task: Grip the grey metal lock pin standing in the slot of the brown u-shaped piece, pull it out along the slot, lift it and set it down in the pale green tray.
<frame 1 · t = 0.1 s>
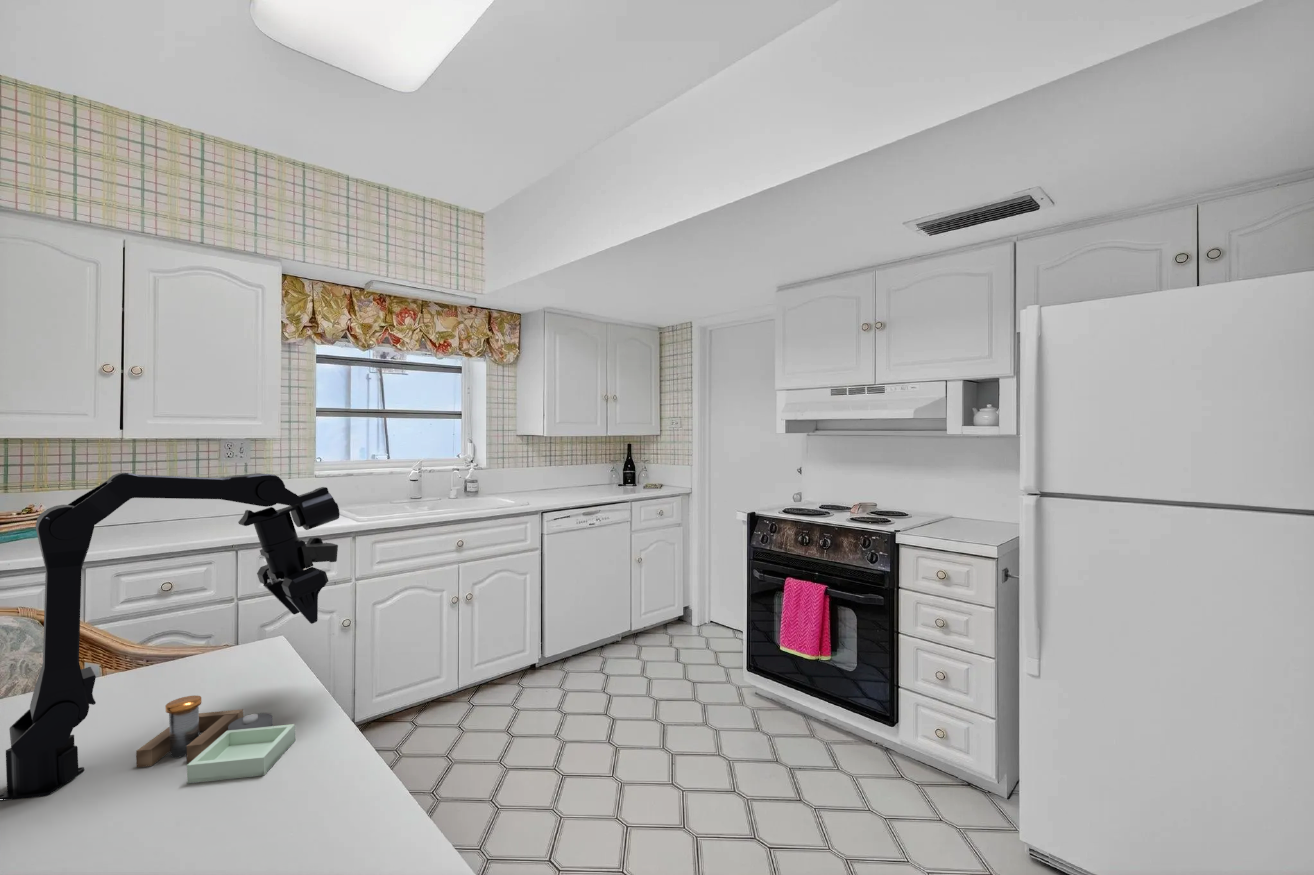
hand: (305, 617, 110), 15 cm above the table, tool pointing down, fingers open, 9 cm apart
brown u-shaped piece: (185, 751, 93), on the table
lock pin: (184, 726, 93), in the brown u-shaped piece
pulley: (251, 736, 97), on the table
tray: (244, 760, 89), on the table
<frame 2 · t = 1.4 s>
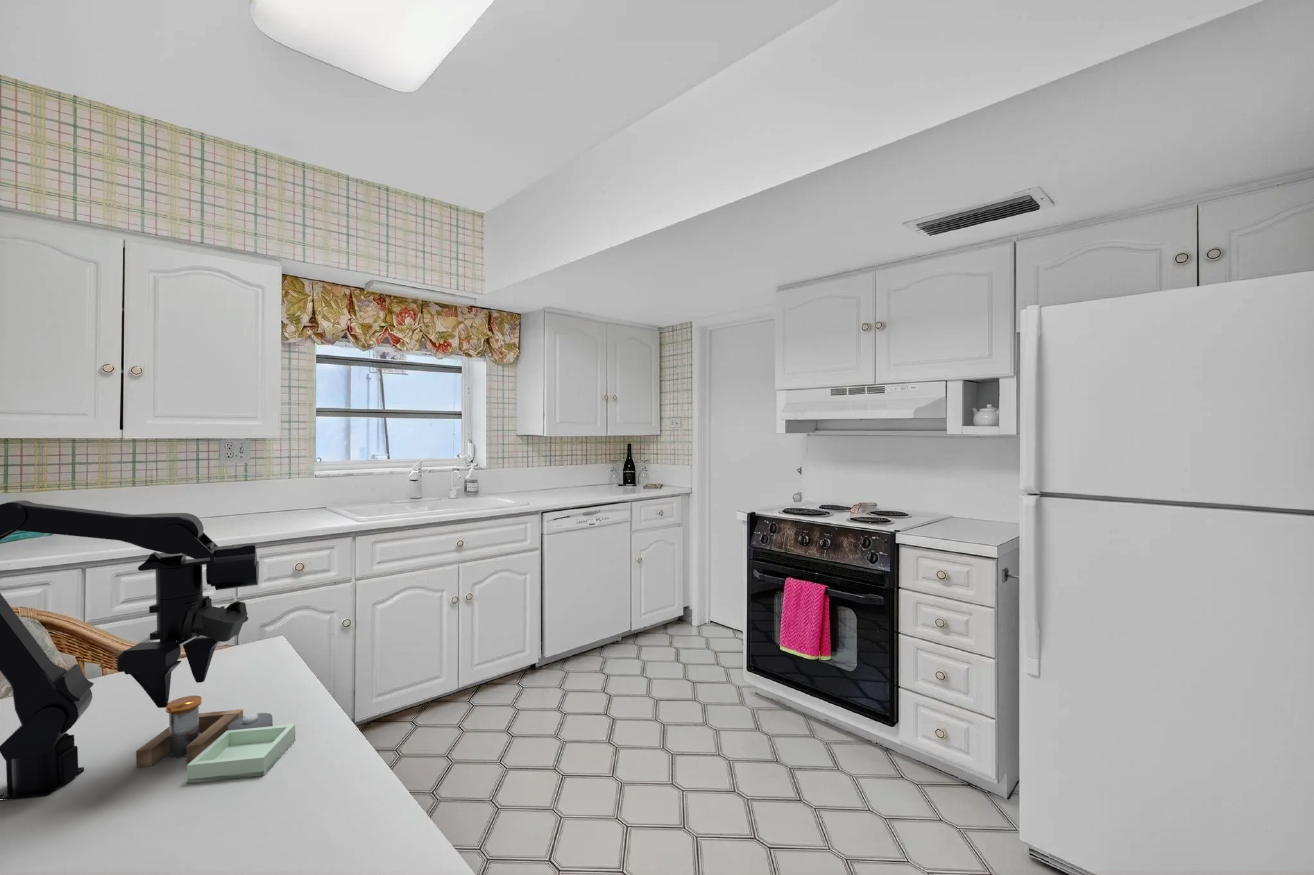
hand: (182, 694, 93), 9 cm above the table, tool pointing down, fingers open, 9 cm apart
nothing on the table moved.
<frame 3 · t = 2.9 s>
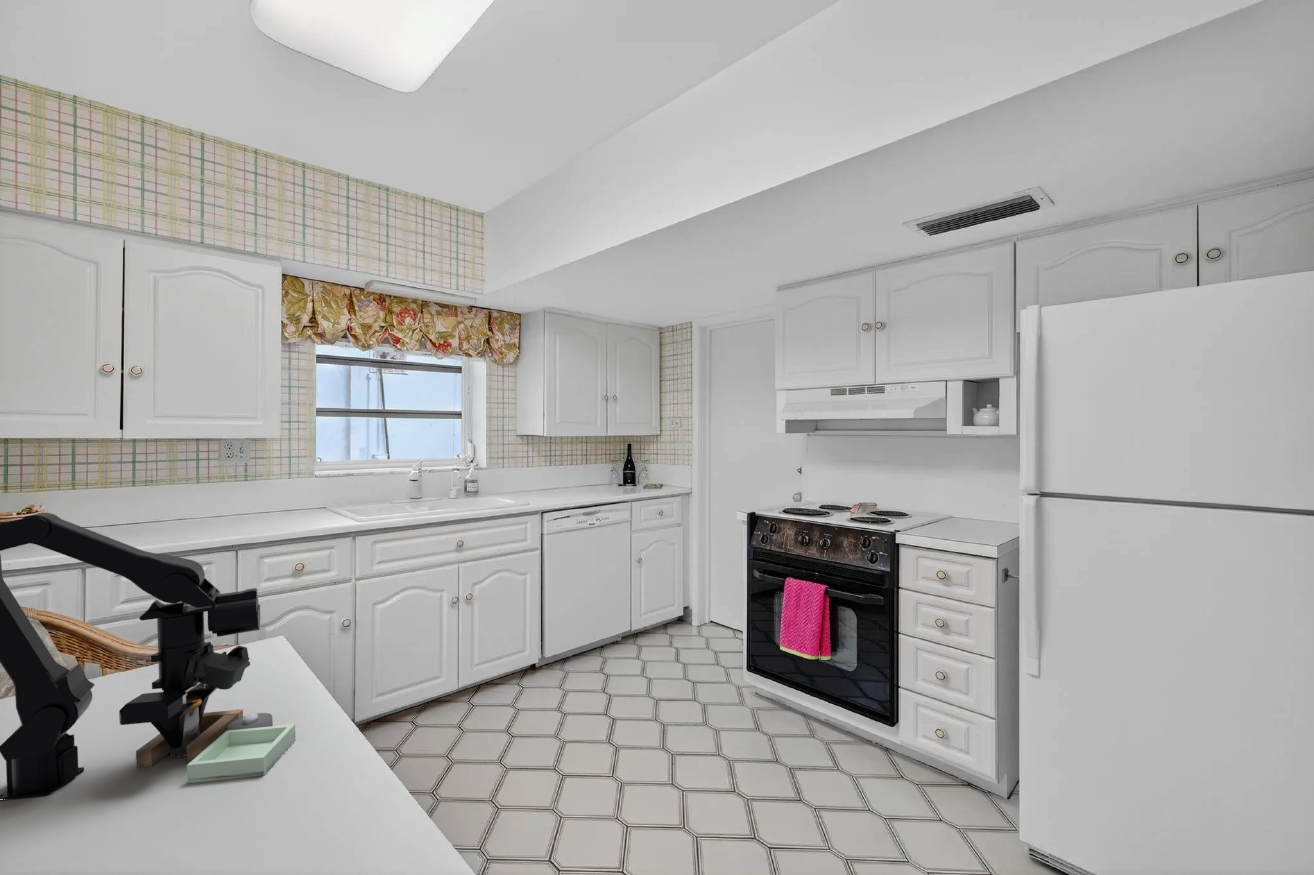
hand: (184, 741, 93), 2 cm above the table, tool pointing down, fingers closed on lock pin, 4 cm apart
lock pin: (184, 726, 93), in the brown u-shaped piece, touching gripper
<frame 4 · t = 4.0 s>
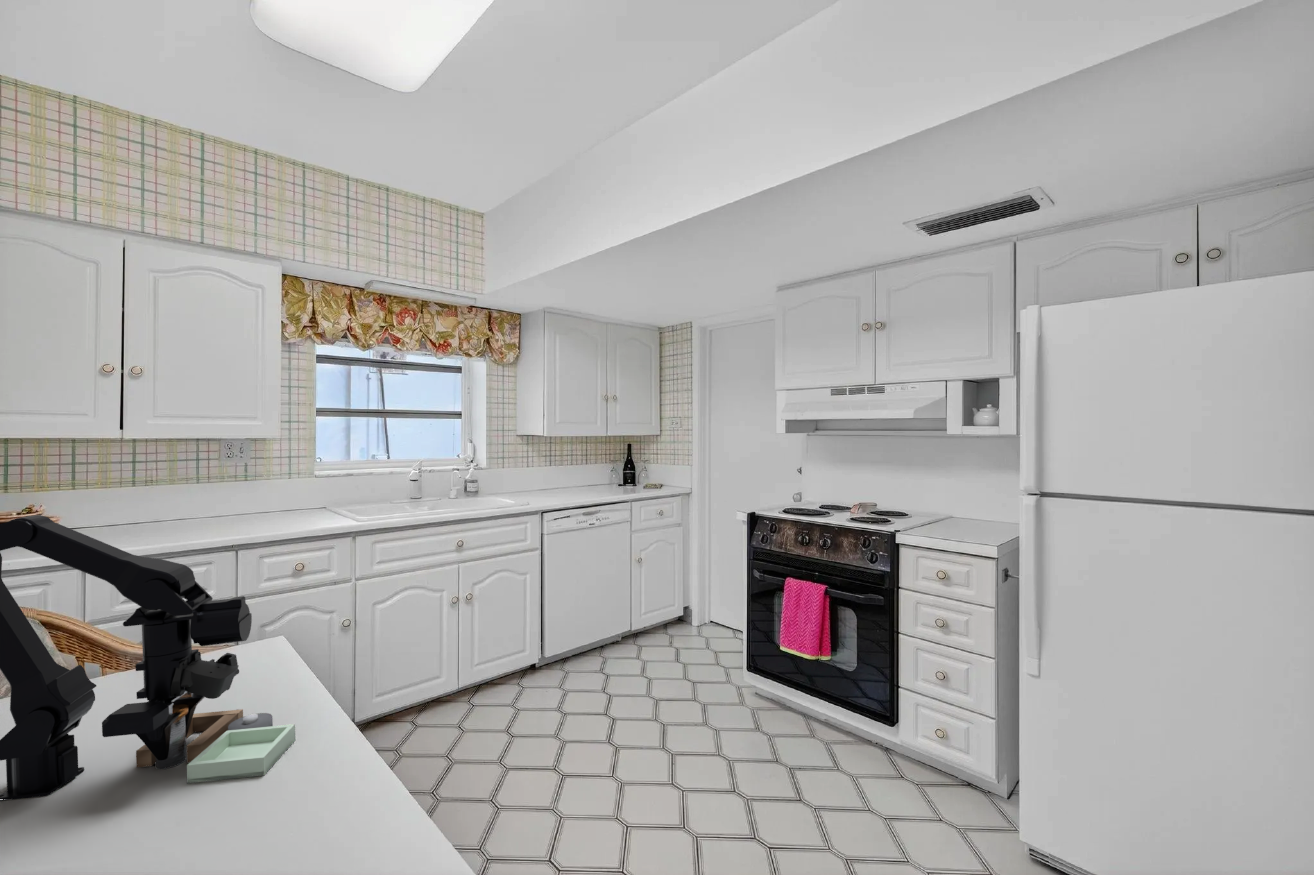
hand: (171, 752, 89), 1 cm above the table, tool pointing down, fingers closed on lock pin, 4 cm apart
lock pin: (170, 736, 89), in the brown u-shaped piece, touching gripper
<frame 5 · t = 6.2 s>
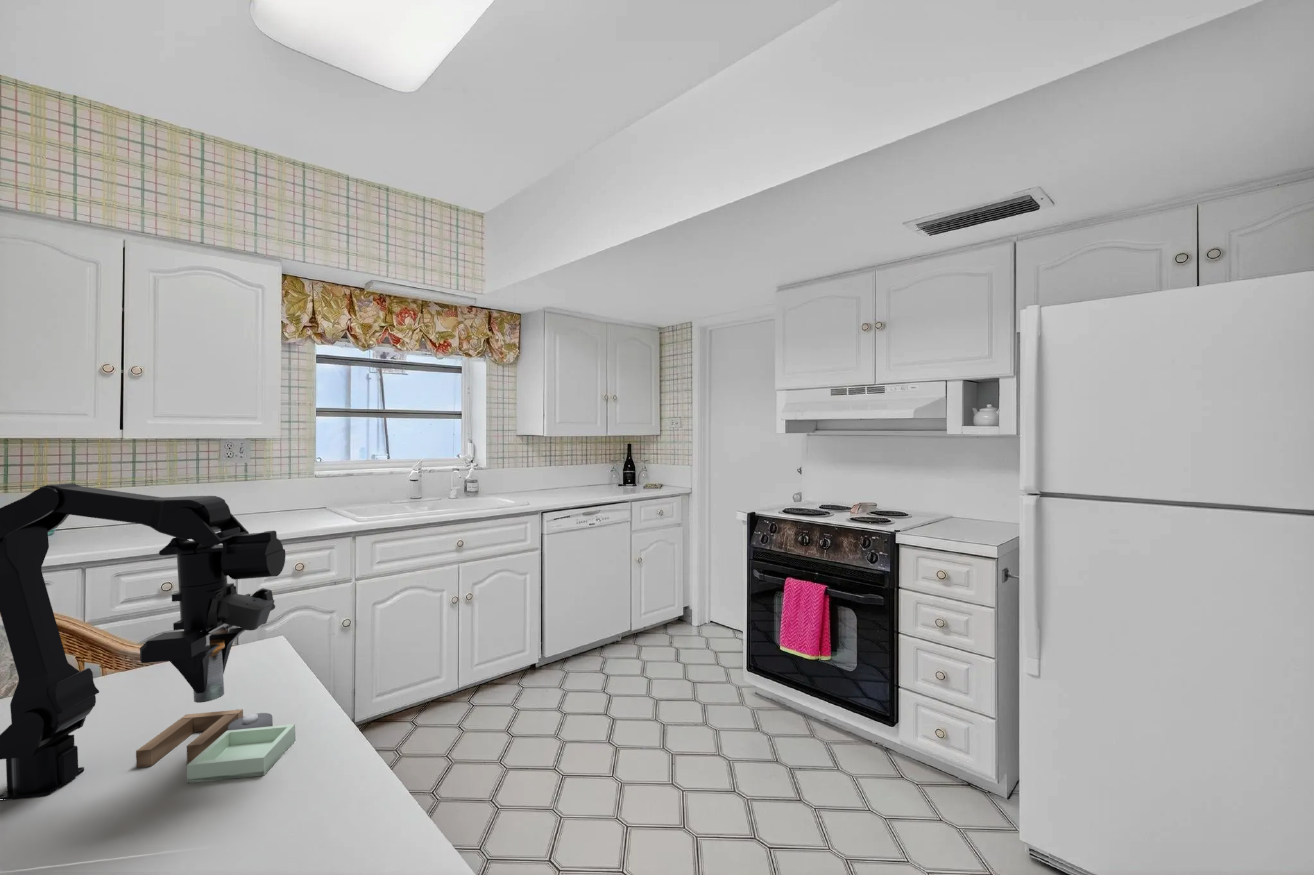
hand: (209, 686, 88), 12 cm above the table, tool pointing down, fingers closed on lock pin, 4 cm apart
lock pin: (207, 670, 88), point 14 cm above the table, touching gripper
when the fingers open (3 cm above the table, at t = 8.3 s): lock pin drops 1 cm, resting on tray.
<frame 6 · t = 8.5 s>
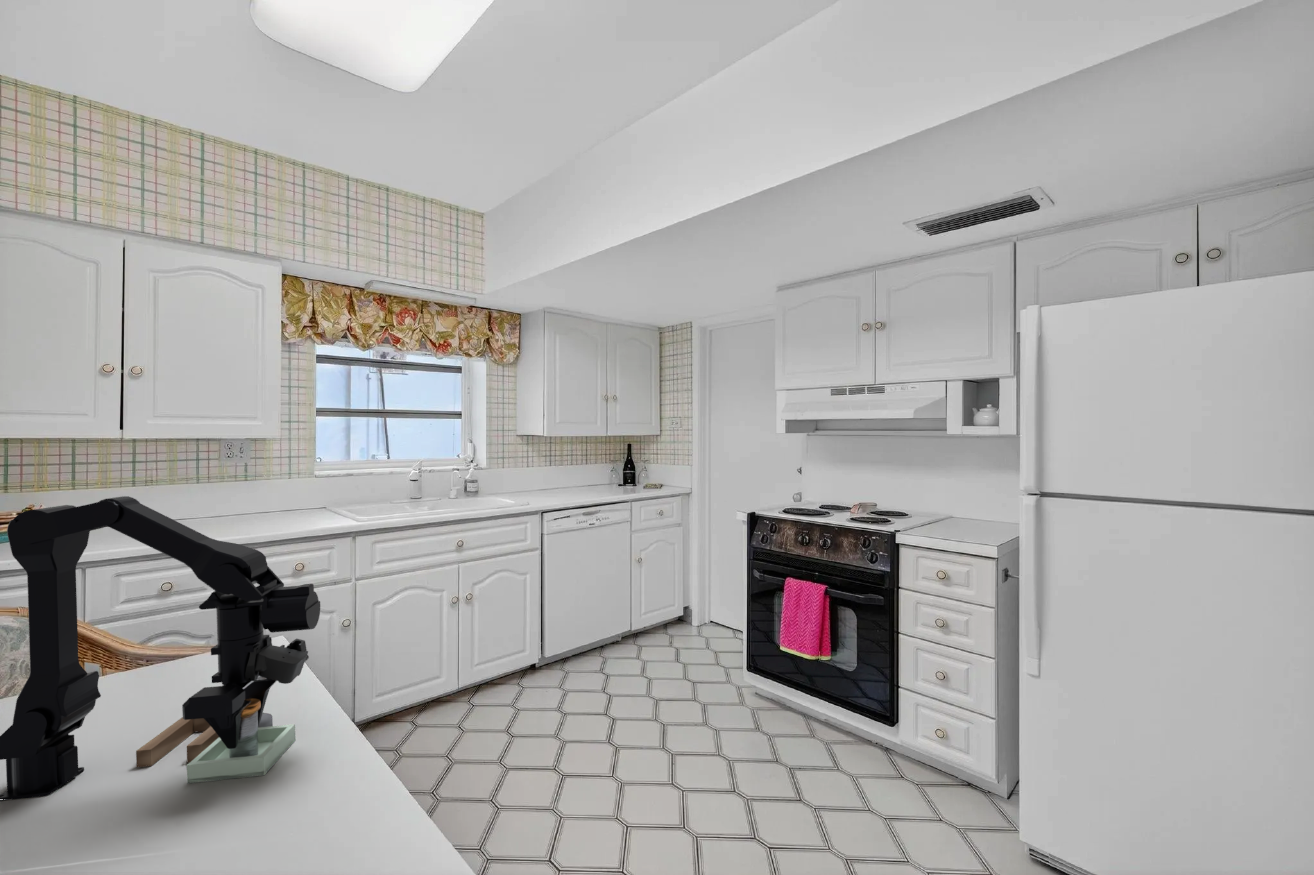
hand: (243, 737, 89), 3 cm above the table, tool pointing down, fingers open, 6 cm apart
lock pin: (243, 730, 89), in the tray, point 5 cm above the table
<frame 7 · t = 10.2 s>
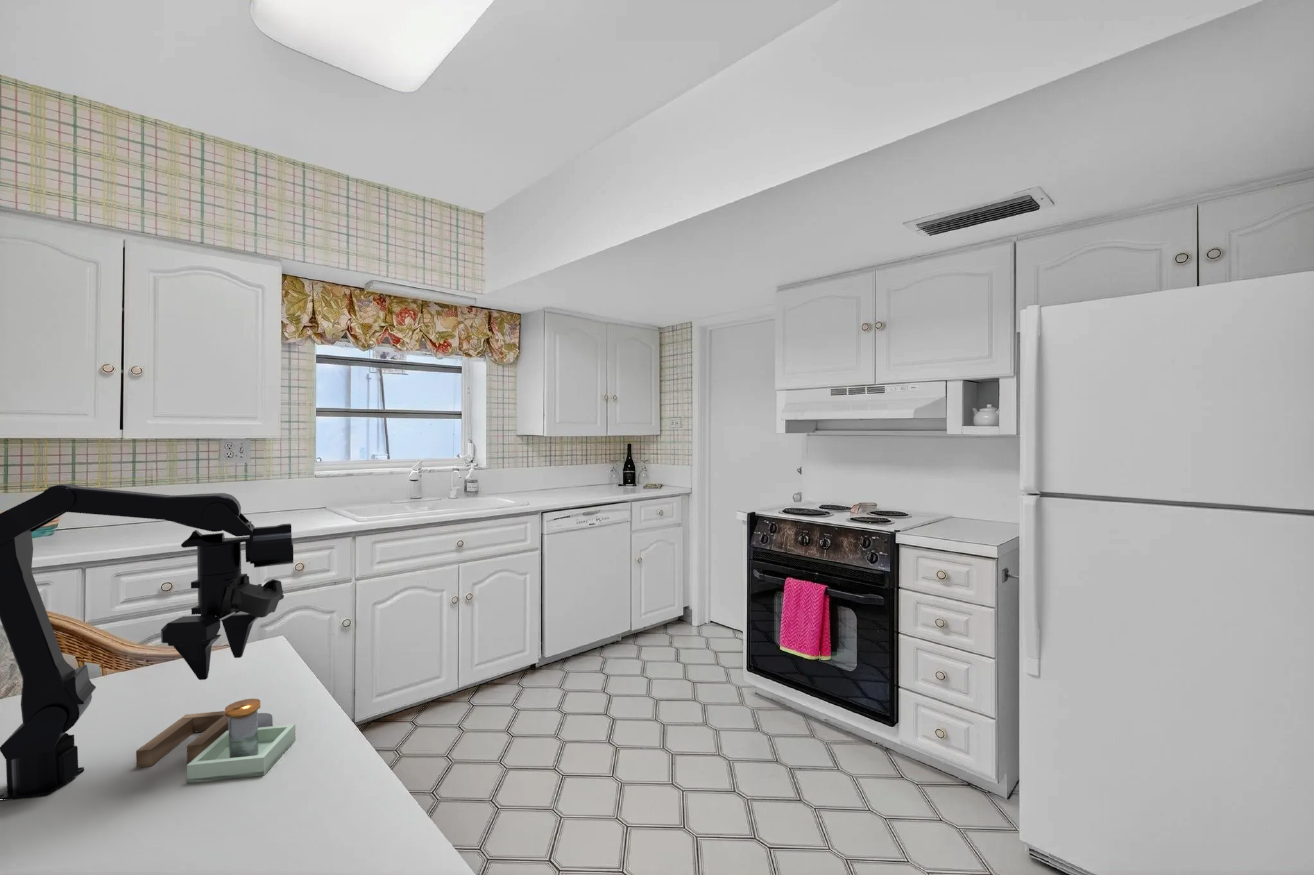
hand: (221, 667, 96), 12 cm above the table, tool pointing down, fingers open, 9 cm apart
nothing on the table moved.
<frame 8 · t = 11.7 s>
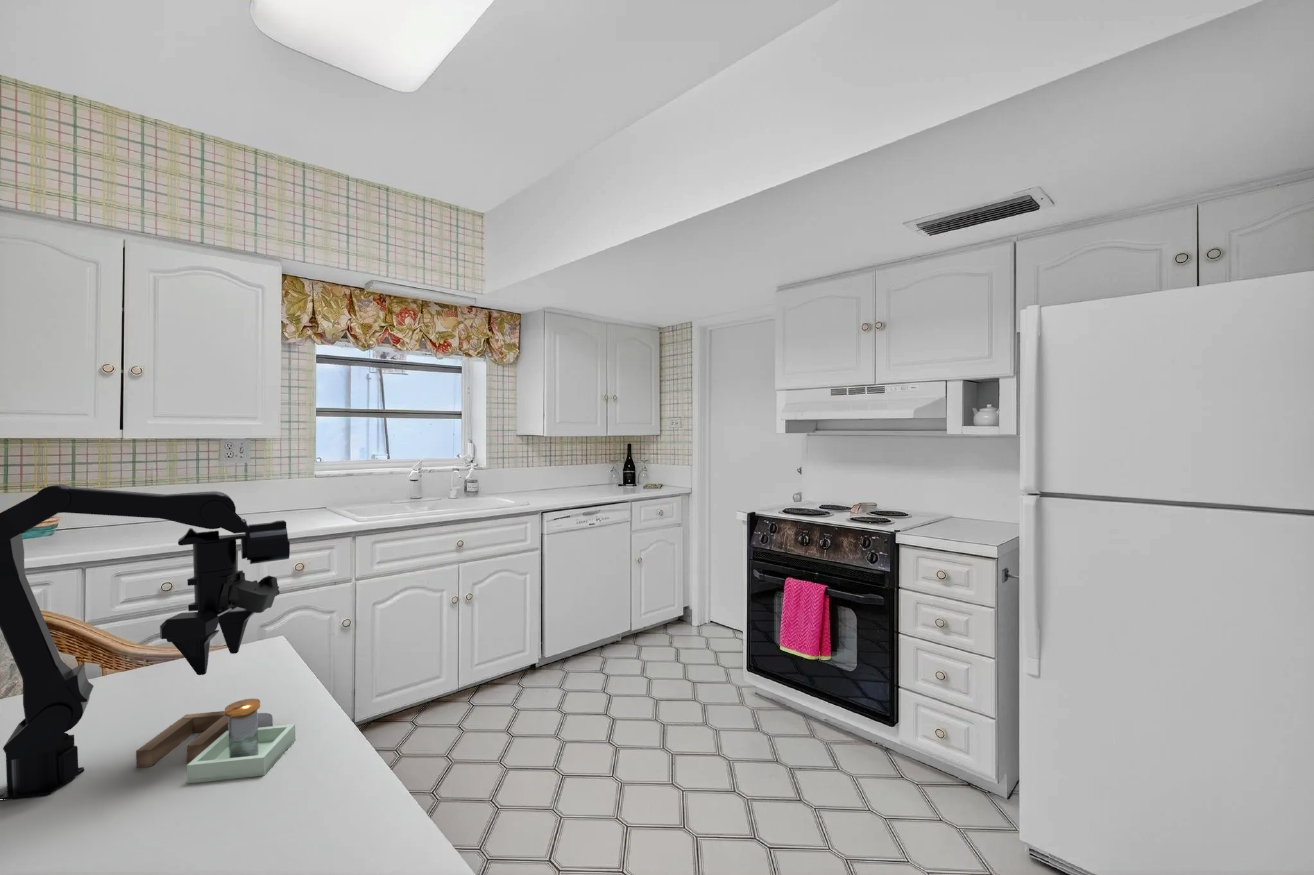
hand: (218, 663, 97), 12 cm above the table, tool pointing down, fingers open, 9 cm apart
nothing on the table moved.
at the end: lock pin inside the target area on the tray (0.1 cm from its centre), point 4.5 cm above the tray's base; the gripper is holding nothing; lock pin moved 12.0 cm from its start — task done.
